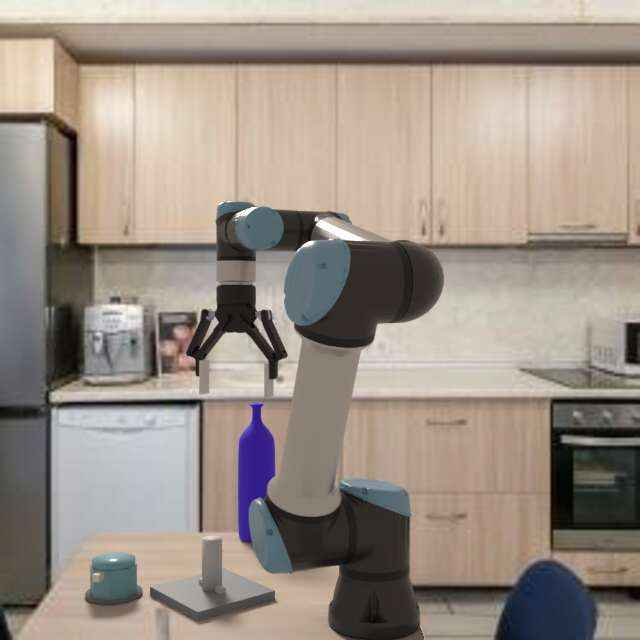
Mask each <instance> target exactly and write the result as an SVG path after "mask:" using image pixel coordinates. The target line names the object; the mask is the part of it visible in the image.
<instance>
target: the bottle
mask: <svg viewBox="0 0 640 640" xmlns="http://www.w3.org/2000/svg"><path fill="white" fill-rule="evenodd" d="M249 406H250V407H251V410H252V412H251V413H252V417H251V422H249V425H248V426H247V427H246V428H245V429H244V430H243V432H242V433H241V435H240V437H239V440H238V449H237V450H238V452H237V453H238V454H237V458H238V459H237V525H238V527H237V529H238V530H237V531H238V538H239V539H240V541H243V542H246V543H252V539H251V534H250V527H249V507H250V504H251V502H252V501H254V500H255V499H258V498H265V497H266V492H267V486H268V483H269V481H270V480H271V479H272V478H273V477H274V476H276V448H275V447H276V446H275V445H276V444H275V437H274V436H273V434H272V433H271V431H270V430H269V428H268V427H267V426H266V425H265V424H264V422H263V420H262V407H263V406H264V403H262V402H251V403H250V404H249Z"/></svg>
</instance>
